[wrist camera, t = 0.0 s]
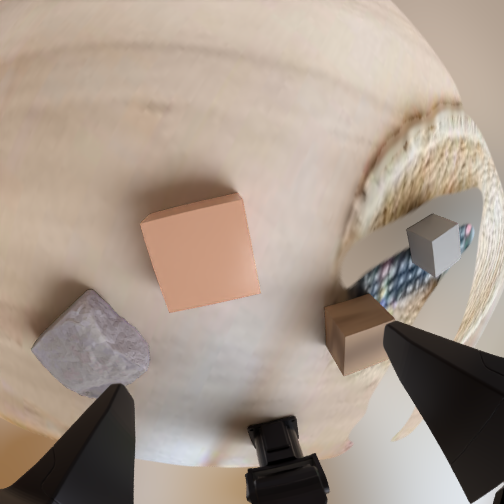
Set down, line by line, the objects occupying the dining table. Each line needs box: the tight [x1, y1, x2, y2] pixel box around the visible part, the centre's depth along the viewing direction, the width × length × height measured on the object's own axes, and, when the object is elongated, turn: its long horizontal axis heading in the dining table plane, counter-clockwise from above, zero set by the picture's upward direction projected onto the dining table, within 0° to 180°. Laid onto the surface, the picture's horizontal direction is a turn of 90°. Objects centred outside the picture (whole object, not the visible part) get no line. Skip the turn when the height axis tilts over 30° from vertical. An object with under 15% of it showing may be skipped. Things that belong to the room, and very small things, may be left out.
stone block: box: [31, 290, 150, 398], centre depth 22 cm, size 12×5×10 cm
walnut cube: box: [325, 294, 395, 376], centre depth 24 cm, size 5×5×5 cm
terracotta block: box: [140, 193, 261, 313], centre depth 20 cm, size 7×7×4 cm
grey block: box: [406, 214, 461, 277], centre depth 23 cm, size 4×4×4 cm
